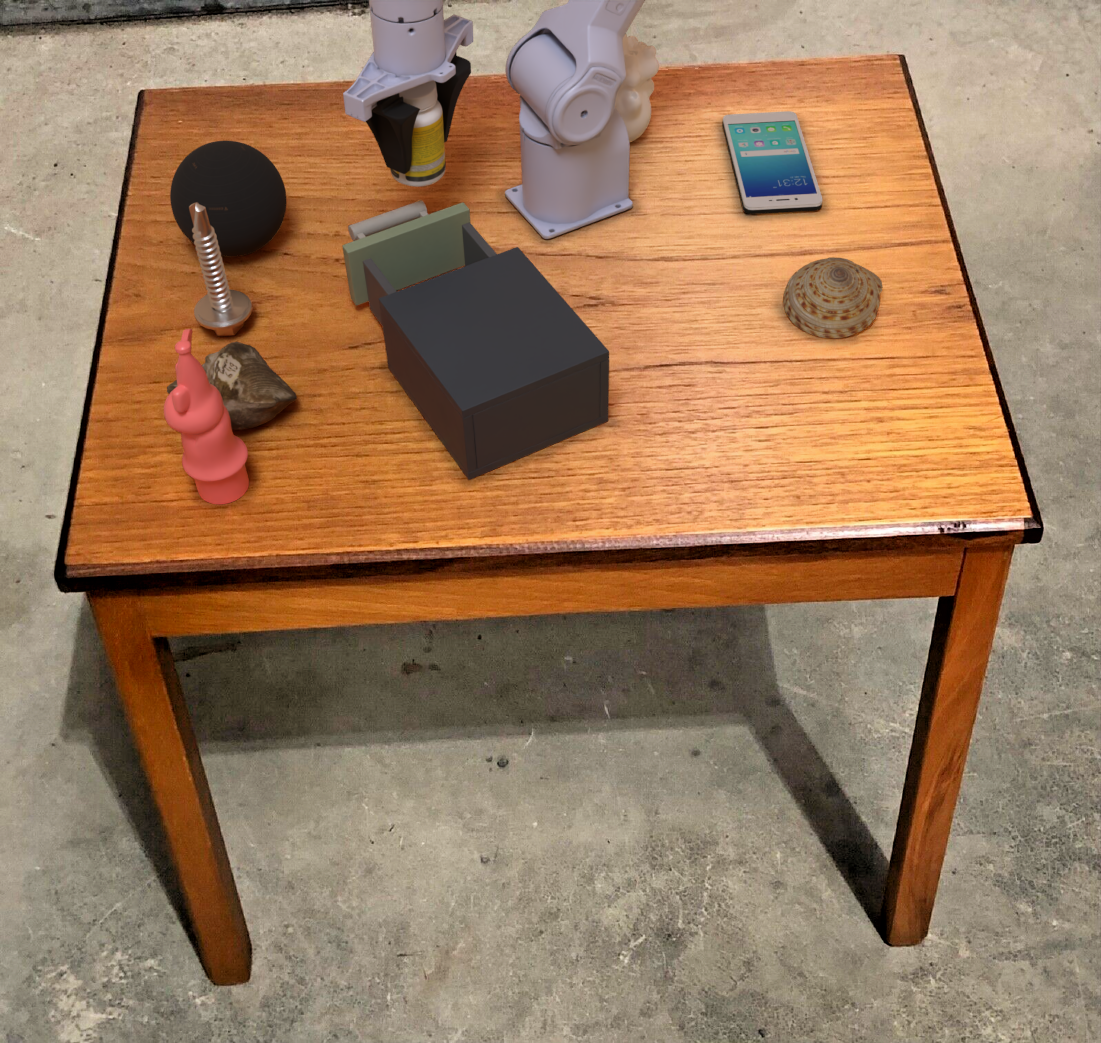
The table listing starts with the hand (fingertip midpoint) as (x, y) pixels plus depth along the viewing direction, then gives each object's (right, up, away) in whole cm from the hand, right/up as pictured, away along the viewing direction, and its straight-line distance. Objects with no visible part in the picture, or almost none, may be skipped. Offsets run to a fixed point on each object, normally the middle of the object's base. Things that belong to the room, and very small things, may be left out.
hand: (416, 153), depth 122 cm
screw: (-16, -15, +1) cm, 22 cm away
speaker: (-17, -6, +9) cm, 20 cm away
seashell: (+36, -13, +2) cm, 38 cm away
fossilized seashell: (-14, -22, -5) cm, 27 cm away
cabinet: (+7, -21, -5) cm, 22 cm away
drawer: (+1, -13, +1) cm, 13 cm away
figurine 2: (+18, +6, +18) cm, 26 cm away
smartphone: (+32, +3, +15) cm, 36 cm away
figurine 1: (-14, -29, -11) cm, 33 cm away
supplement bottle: (0, -1, +2) cm, 2 cm away
